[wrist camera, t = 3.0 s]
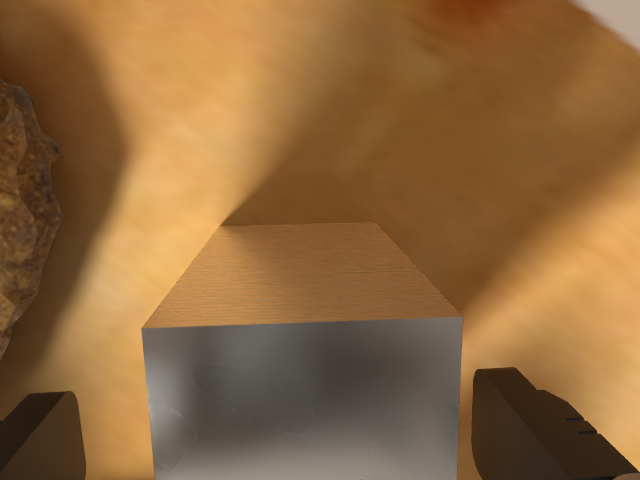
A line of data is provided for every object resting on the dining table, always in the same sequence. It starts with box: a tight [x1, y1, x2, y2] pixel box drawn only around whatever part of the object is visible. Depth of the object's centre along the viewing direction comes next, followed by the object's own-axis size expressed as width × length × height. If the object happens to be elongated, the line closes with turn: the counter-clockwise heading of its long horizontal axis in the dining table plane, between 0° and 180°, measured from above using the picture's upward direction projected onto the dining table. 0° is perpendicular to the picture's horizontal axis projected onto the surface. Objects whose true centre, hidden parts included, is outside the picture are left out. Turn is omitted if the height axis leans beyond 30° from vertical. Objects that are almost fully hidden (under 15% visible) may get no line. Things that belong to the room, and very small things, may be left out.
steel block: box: [141, 222, 463, 480], centre depth 12 cm, size 6×4×8 cm
